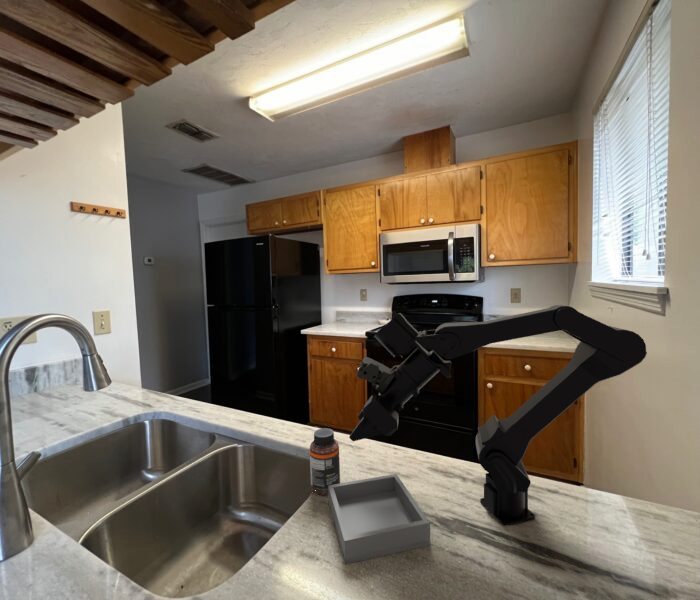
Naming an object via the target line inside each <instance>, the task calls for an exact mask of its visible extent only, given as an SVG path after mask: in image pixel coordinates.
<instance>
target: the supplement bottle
mask: <svg viewBox="0 0 700 600" xmlns="http://www.w3.org/2000/svg"><path fill="white" fill-rule="evenodd" d="M309 466H310V467H309V468H310V471H309V472H310V475H309V476H310V488H311V490H312V491H313V492H314V493H315V494H317V495H321V496H324V495H328V485H333V484H339V483H341V469H340V468H341V465H340V446H339V441H337V440H336V439H335V432H334V430H333V429H331V428H327V427H325V428H318V429H316V430H315V431H314V432H313V441H311V443H310V445H309ZM315 490H316V491H315Z"/></svg>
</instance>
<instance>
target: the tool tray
mask: <svg viewBox="0 0 700 600" xmlns="http://www.w3.org/2000/svg"><path fill="white" fill-rule="evenodd" d="M327 496H328V497H327V498H328V499H327V500H328V507H329V510H330V514H331V519H332V521H333V525H334V529H335V533H336V536H337V540H338V543H339V549H340V552H341V555H342V559H343V563H344V565H349V564H353V563H357V562H363V561H366V560H370V559H375V558H378V557H383V556H388V555H393V554H397V553H401V552H405V551H409V550H414V549H418V548H423V547H426V546H431V522H430V521H429V519H428V518H427V516H426V515H425V513H424V512H423V510H422V509H421V507H420V506H419V505H418V503H417V501H416V500H415V498H414V497H413V496H412V494H411V493H410V491H409V490H408V489H407V487H406V486H405V483H403V481H402V480H401V478H400V476H399V475H398V474H397V473H393V474H386V475H381V476H377V477H376V476H375V477H370V478H365V479H358V480H352V481H351V480H350V481H346V482H340V483H339V484H333V485H328V494H327Z"/></svg>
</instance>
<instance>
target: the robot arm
mask: <svg viewBox="0 0 700 600" xmlns="http://www.w3.org/2000/svg"><path fill="white" fill-rule="evenodd" d="M559 331H561V332H564V333H565V334H567V335H568V336H570V337H571V338H573V339H576V340H577V341H579V343H577V346H576V348H575V350H574V353H573V355H572V357H571V359H570V361H569V362H568V364H566V365H565V366H564V367H563V368H561V370H560V371H559V372H558V373H556V374H555V375H554V376H553V377H552V378H551V379H550V380H549V381H547V382H546V383H545V384H544V385H543V386H542V387H540V389H539V390H537V392H535V393H534V394H533V395H532V396H531V397H530V398H528V400H526V401H525V402H524V403H523V404H522V405H521V406H520V407H519V408H518V409H516V410H515V411H514V412H513V413H512V414H511V415H510V416H507V417H505V418H502V419H498V418H497V416H496V415H495V414H492V415H491V416H490V417H489V419H487V421H486V422H485V423H484V424H483V425H480V426H478V427H477V431H478V432H477V434H476V436H475V447H476V452H477V453H476V454H477V458H478V461H479V465H480V466H481V468H482V469H483V470H484V471H485V472H486V473H485V483H484V484H483V497H482V498H480V499H479V503H480V504H481V505H483V506H484V507H485V509H486V510H487V511H488V512H489V513H490V514H491V515H492V516H493V517H494V518H495V519H497V521H498V522H499V523H500V524H501V525H503V526H510V525H514V524H519V523H523V522H529V521H532V520H536V514H535V513H533V512H532V511H531V510H530V509H529V487H530V485H531V484H532V483H531V482H532V481H531V479H530V477H529V475H528V473H527V470H526V467H525V466H524V463H523V461H522V459H523V458H524V456H525V454H526V451H527V449H528V447H529V445H530V443H531V440H533V439H534V438H535V437H536V436H537V435H538V434H540V433H541V432H542V431H543V430H544V429H545V428H547V427H548V425H550V424H551V423H552V422H553V421H555V419H557V418H558V417H559V416H560V415H561V414H563V413H564V412H565V411H566V410H567V409H569V407H571V406H573V404H575V402H576V401H578V400H579V399H580V398H581V397H582V396H584V395H585V394H586V393H587V392H588V391H589V390H591V388H593V387H595V386H596V385H597V384H598V383H599V382H600V383H601V382H603V381H606V380H608V379H611V378H615V377H618V376H620V375H622V374H624V373H626V372H627V371H629V370H631V369H632V368H634V367H636V366H638V365H639V364H641V363H642V362H643V360H644V359H646V357H647V354H648V352H647V345H646V342H645V340H644V338H643V337H641V335H640V334H638V333H636V332H634V331H631V330H628V329H623V328H619V327H615V326H612V325H607V324H605V323H603V322H600V321H599V320H596V319H595V318H592V317H590V316H588V315H585V314H584V313H582V312H580V311H578V310H577V309H576V308H574V307H573V306H568V305H564V304H554V305H551V306H550V307H546V308H542V309H541V308H540V309H538V310H533V311H528V312H527V311H526V312H523V313H518V314H514V315H510V316H505V317H500V318H495V319H491V320H485V321H475V322H474V321H462V322H459V321H457V322H444V323H442V324H440V325H439V326H438V327H436V329H430V330H428V329H427V330H423V331H422V330H421V331H418V330H417V329H416V328H415V327H414V326H413V324H411V323H410V322H409V321H408V320H407V319H406V317H405V316H404V315H403V313H401V312H399V313H397V314H396V315H395V316H394V317H393V318H392V319H390V321H388V322H386V323H385V324H383V326H382V327H380V329H379V330H378V331H377V332H376V333H375V334H374V336H373V337H374V338H375V339H376V340H377V341H378V342H379V343H380V345H382V346H383V348H385V349H386V350H387V352H388V353H390V355H391V356H393V358H395V357H398V358H399V357H401V358H404V357H405V356H406V355H407V354H409V353H410V352H411V350H412V349H413V348H414V347H416V349H414V351H412V352H411V354H410V355H409V356H408V357H407V358H405V359H404V361H402V362H401V363H400V364H397V365H396V364H395V365H393V366H392V368H389V367H388V366H386V365H385V364H383V363H381V362H379V361H377V360H375V359H373V358H370V357H367V356H364V358H363V359H362V360H361V362H360V365H359V366H358V370H357V371H356V374H355V375H356V377H357V378H359V379H360V380H365V381H367V382H369V383H371V384H372V385H371V396H370V397H369V399H368V400H367V401H366V402H365V403H364V405H363V407H362V410H361V411H360V413H359V414H358V416H357V419H358V420H359V422H358V424H357V425H356V426H355V428H354V429H353V431H352V432H351V434H349V437H348V438H349V439H350V440H351V442H357V441H360V440H364V439H367V438H368V439H369V438H372V437H376V436H382V435H383V436H388V437H390V436H392V435H393V434H394V433H395V432H396V431H397V430H398V427H399V413H400V412H401V411H403V409H404V405H405V404H406V403H407V402H408V401H409V400H410V399H411V398H412V397H414V398H416V397H417V396H418V395H420V389H422V388H423V387H424V386H425V385H426V384H427V383H428V382H429V381H430V380H432V379H433V377H435V376H436V375H437V374H438V373H439V372H440V373H442V374H443V375H444V376H445V377H446V378H447V379H449V378H451V377H452V374H451V366H452V362H451V360H450V359H457V358H460V357H462V356H465V355H467V354H470V353H473V352H474V351H477V350H479V349H480V348H483V347H485V346H488V345H492V344H495V343H500V342H501V343H502V342H506V341H511V340H517V339H522V338H527V337H532V336H533V337H534V336H537V335H538V336H539V335H543V334H548V333H553V332H554V333H555V332H559ZM428 350H431V351H428ZM443 358H444V359H449V360H444V359H443ZM394 408H395V409H394ZM396 410H397V411H398V412H399V413H398V412H397V411H396Z"/></svg>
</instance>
